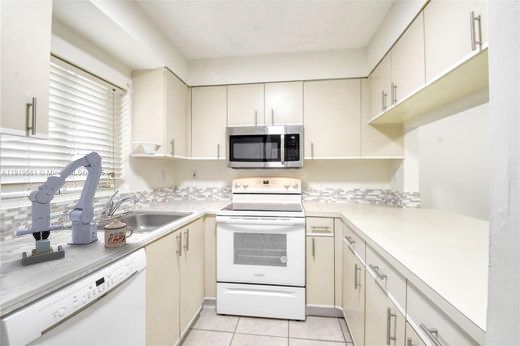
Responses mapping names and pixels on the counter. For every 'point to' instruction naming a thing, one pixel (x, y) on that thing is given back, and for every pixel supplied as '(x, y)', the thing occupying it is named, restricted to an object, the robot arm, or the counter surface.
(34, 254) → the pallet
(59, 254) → the dock
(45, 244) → the pale blue cube
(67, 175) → the robot arm
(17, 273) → the counter surface
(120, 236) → the teacup with lid
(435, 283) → the counter surface
